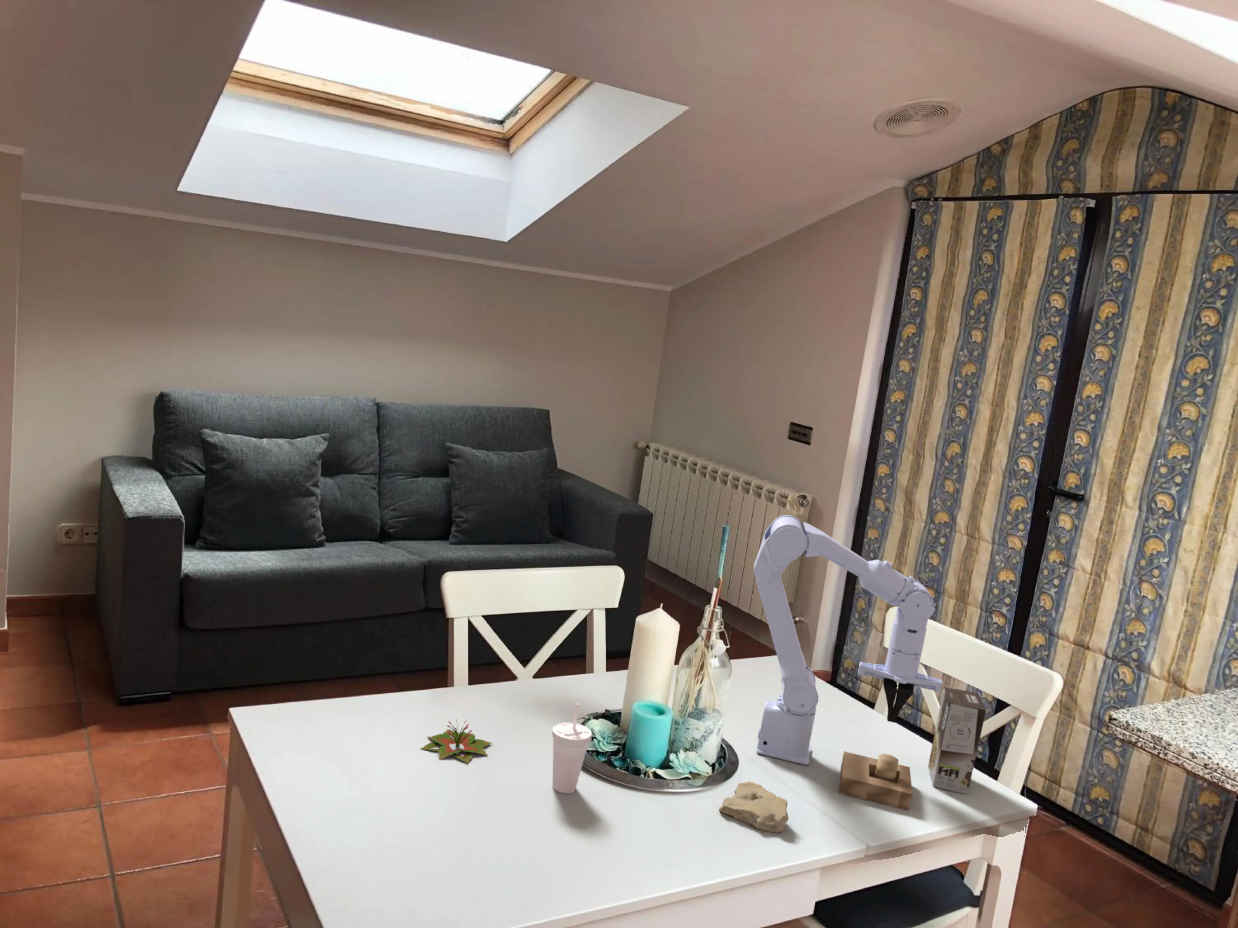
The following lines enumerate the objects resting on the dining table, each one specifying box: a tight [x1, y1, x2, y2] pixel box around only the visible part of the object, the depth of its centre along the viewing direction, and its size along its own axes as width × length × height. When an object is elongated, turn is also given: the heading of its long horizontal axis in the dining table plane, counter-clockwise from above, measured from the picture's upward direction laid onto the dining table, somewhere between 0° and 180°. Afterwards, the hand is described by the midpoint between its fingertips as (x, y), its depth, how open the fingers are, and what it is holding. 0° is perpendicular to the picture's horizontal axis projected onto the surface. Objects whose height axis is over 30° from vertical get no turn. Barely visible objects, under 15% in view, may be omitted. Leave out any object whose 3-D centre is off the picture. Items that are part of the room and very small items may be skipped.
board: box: [838, 751, 913, 811], centre depth 172 cm, size 12×11×3 cm
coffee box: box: [927, 686, 987, 795], centre depth 179 cm, size 9×6×16 cm
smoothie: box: [551, 702, 593, 794], centre depth 155 cm, size 6×6×14 cm
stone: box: [718, 780, 789, 833], centre depth 157 cm, size 13×4×10 cm
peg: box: [875, 753, 899, 783], centre depth 171 cm, size 4×4×6 cm
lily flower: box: [419, 718, 493, 764], centre depth 165 cm, size 12×12×5 cm
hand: (891, 719), depth 178 cm, fingers closed
